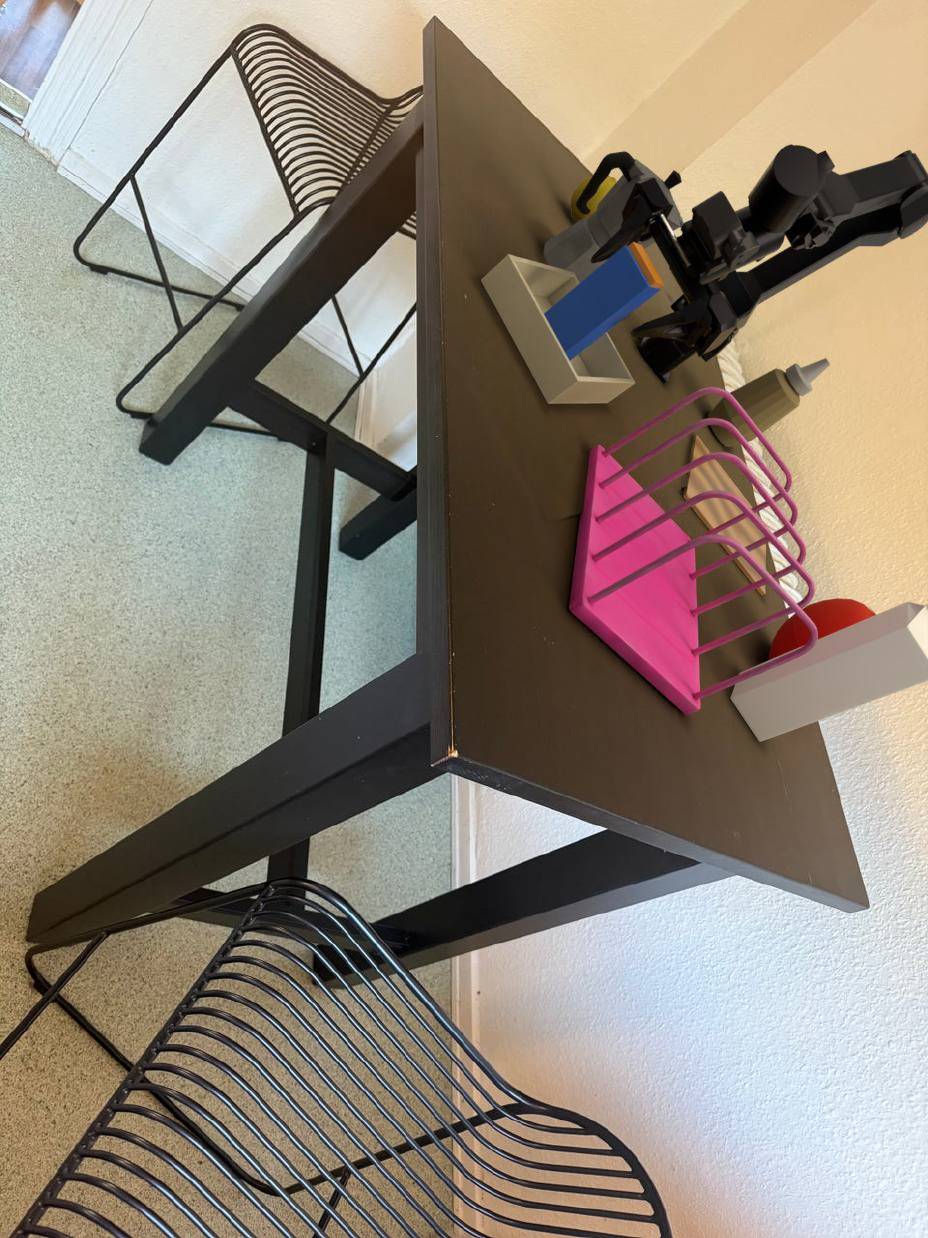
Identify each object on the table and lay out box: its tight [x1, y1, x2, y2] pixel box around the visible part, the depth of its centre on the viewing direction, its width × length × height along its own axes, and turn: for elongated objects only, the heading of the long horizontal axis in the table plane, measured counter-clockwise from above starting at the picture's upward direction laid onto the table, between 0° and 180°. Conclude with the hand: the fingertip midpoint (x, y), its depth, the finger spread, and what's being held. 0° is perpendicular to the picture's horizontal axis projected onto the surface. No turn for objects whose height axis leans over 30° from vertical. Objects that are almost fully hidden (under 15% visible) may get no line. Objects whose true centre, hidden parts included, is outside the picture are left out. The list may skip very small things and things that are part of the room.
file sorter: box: [568, 386, 818, 716], centre depth 79 cm, size 17×25×16 cm
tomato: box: [768, 597, 877, 661], centre depth 96 cm, size 13×11×14 cm
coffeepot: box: [543, 151, 685, 283], centre depth 102 cm, size 15×9×18 cm, turn 103°
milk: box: [729, 601, 928, 743], centre depth 84 cm, size 6×6×22 cm
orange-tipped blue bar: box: [544, 242, 665, 361], centre depth 89 cm, size 4×5×14 cm
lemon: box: [570, 174, 618, 221], centre depth 119 cm, size 6×6×8 cm
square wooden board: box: [682, 434, 767, 597], centre depth 113 cm, size 18×18×1 cm
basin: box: [480, 253, 636, 405], centre depth 92 cm, size 15×15×5 cm
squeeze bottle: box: [707, 357, 831, 448], centre depth 122 cm, size 8×8×18 cm
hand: (612, 296), depth 88 cm, fingers open, 9 cm apart
